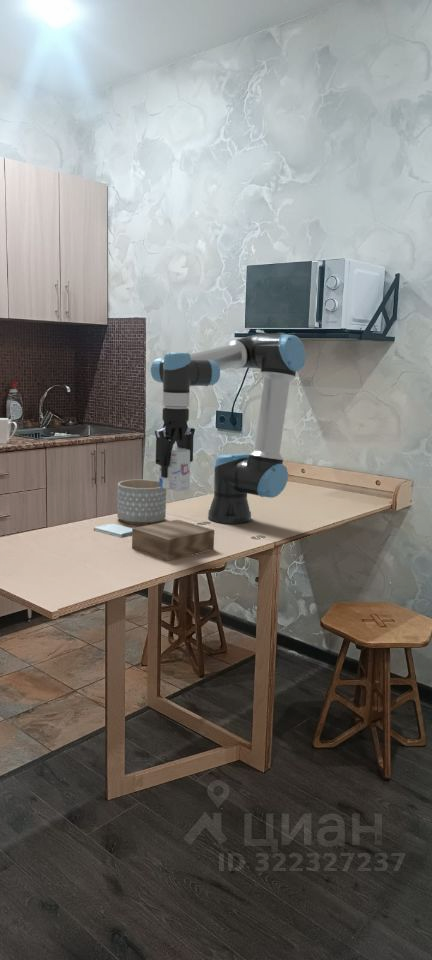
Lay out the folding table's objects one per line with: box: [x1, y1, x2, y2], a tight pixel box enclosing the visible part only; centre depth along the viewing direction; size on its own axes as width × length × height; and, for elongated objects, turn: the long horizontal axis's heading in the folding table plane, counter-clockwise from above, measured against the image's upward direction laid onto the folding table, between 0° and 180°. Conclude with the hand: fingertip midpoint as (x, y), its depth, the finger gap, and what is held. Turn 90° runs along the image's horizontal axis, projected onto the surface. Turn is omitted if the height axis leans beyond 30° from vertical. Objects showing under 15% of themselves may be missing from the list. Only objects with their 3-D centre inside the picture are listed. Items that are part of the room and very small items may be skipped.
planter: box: [116, 479, 167, 526], centre depth 239 cm, size 16×16×13 cm
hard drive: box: [93, 523, 133, 538], centre depth 224 cm, size 2×8×12 cm
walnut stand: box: [131, 519, 215, 562], centre depth 206 cm, size 18×16×6 cm
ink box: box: [158, 445, 191, 492], centre depth 203 cm, size 9×5×12 cm, turn 45°
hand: (173, 487), depth 204 cm, fingers closed on ink box, 5 cm apart
